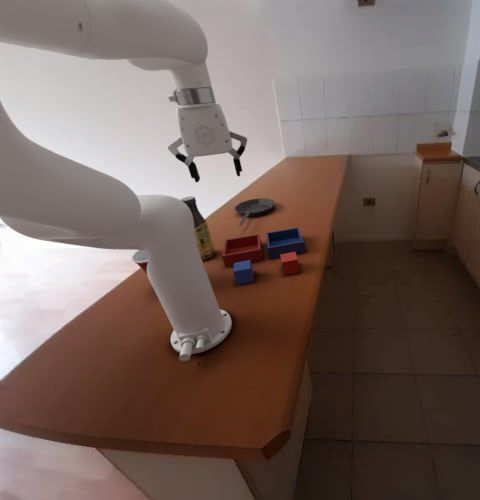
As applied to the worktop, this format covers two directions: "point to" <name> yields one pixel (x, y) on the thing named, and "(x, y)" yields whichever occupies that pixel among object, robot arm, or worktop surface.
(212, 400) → the worktop surface
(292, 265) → the red block
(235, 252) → the red bin
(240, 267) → the blue block
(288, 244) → the blue bin
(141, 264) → the plastic cup
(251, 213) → the frying pan
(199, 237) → the sauce bottle
